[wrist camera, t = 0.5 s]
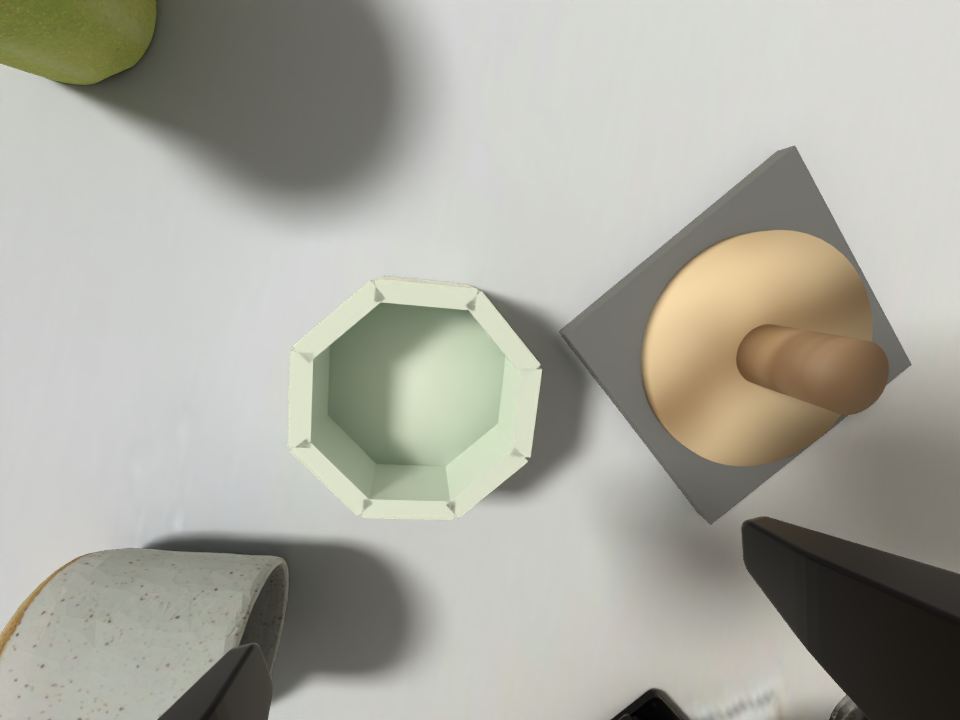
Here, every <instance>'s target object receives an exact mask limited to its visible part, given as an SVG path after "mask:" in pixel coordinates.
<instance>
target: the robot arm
mask: <svg viewBox="0 0 960 720" xmlns="http://www.w3.org/2000/svg"><path fill="white" fill-rule="evenodd" d="M741 530H742V547H743V560H744V563H745V566H746V568H747V570H748V572H749V573H750V575H751V576H752V577H753V579H754V580H755V581H756V583H757V584H758V585H759V587H760V588H761V589H762V591H763V592H764V593H765V595H766V596H767V597H768V599H769V600H770V601H771V603H772V604H773V605H774V607H775V608H776V609H777V611H778V612H779V613H780V615H781V616H782V617H783V619H784V620H785V621H786V623H787V624H788V625H789V627H790V628H791V629H792V631H793V632H794V633H795V635H796V636H797V637H798V639H799V640H800V641H801V642H802V644H803V645H804V646H805V647H806V649H807V650H808V651H809V652H810V653H811V655H812V656H813V657H814V658H815V659H816V660H817V662H818V663H819V664H820V665H821V666H822V667H823V668H824V670H825V671H826V672H827V673H828V674H829V675H830V676H831V677H832V679H833V680H834V681H835V682H836V683H837V684H838V685H839V686H840V688H841V689H842V690H843V691H844V692H845V693H846V694H847V695H848V697H849V698H850V699H851V700H852V701H853V702H854V703H855V704H856V706H857V707H858V708H859V709H860V710H861V711H862V712H863V713H864V715H865V716H866V717H867V718H868V719H869V720H960V574H958V573H955V572H951V571H948V570H944V569H941V568H938V567H934V566H931V565H928V564H924V563H921V562H917V561H914V560H911V559H907V558H904V557H901V556H897V555H894V554H890V553H887V552H884V551H880V550H877V549H874V548H870V547H867V546H863V545H860V544H857V543H853V542H850V541H847V540H843V539H840V538H836V537H833V536H830V535H826V534H823V533H820V532H816V531H813V530H810V529H806V528H803V527H799V526H796V525H793V524H789V523H786V522H783V521H779V520H776V519H772V518H769V517H758V518H754V519H750V520H746V521H745V522H743V524H742V529H741ZM271 699H272V680H271V677H270V674H269V671H268V668H267V665H266V662H265V659H264V656H263V653H262V650H261V648H260V646H259V645H258V644H256V643H250V644H246V645H242V646H238V647H234V648H232V649H230V650H229V651H228V652H227V653H226V654H225V655H224V656H223V657H222V658H221V659H220V660H219V661H217V662H216V663H215V664H214V665H213V666H212V667H211V668H210V669H209V670H208V671H207V672H206V673H205V674H204V675H203V676H202V677H201V678H200V679H199V680H198V681H197V682H196V683H195V684H194V685H192V686H191V687H190V688H189V689H188V690H187V691H186V692H185V693H184V694H183V695H182V696H181V697H180V698H179V699H178V700H177V701H176V702H175V703H174V704H173V705H172V706H171V707H170V708H169V709H168V710H166V711H165V712H164V713H163V714H162V715H161V716H160V717H159V718H158V719H157V720H268V716H269V710H270V705H271ZM613 720H683V719H682V718H681V717H680V716H679V715H678V714H677V713H676V712H675V711H674V710H673V709H672V707H671V706H670V705H669V704H668V703H667V702H666V701H665V700H664V699H663V698H662V697H661V696H660V695H659V694H658V693H657V692H656V691H649V692H647V693H646V694H645V695H643V696H642V697H641V698H639V699H638V700H637V701H636V702H634V703H633V704H632V705H631V706H629V707H628V708H627V709H626V710H624V711H623V712H622V713H620V714H619V715H618V716H617V717H615V718H614V719H613Z"/></svg>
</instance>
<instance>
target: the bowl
mask: <svg viewBox="0 0 960 720" xmlns="http://www.w3.org/2000/svg"><path fill="white" fill-rule="evenodd" d="M292 347H293V348H294V349H292V350H291V351H290V362H289V410H288V447H293V448H292V449H291V451H290V453H291V454H292V455H294V456H295V457H296V458H297V459H298V460H299V461H300V462H301V463H302V464H303V465H304V466H305V467H306V468H307V469H308V470H309V471H310V472H311V473H312V474H313V475H315V476H316V477H317V478H318V479H319V480H320V481H321V482H322V483H323V484H324V485H325V486H326V487H327V488H328V489H329V490H330V491H331V492H332V493H333V494H334V495H336V496H337V497H338V498H339V499H340V500H341V501H342V502H343V503H344V504H345V505H346V506H347V507H348V508H349V509H350V510H351V511H352V512H353V513H354V514H355V515H357V516H358V515H359V514H361V513H362V518H382V519H430V520H454V516H455V515H456V516H457V517H458V518H460V517H461V516H462V515H464V514H465V513H466V512H467V511H468V510H470V509H471V508H472V507H473V506H475V505H476V504H477V503H478V502H479V501H481V500H482V499H483V498H484V497H486V496H487V495H488V494H489V493H490V492H492V491H493V490H494V489H495V488H497V487H498V486H499V485H500V484H501V483H503V482H504V481H505V480H506V479H508V478H509V477H510V476H511V475H513V474H514V473H515V472H516V471H517V470H519V469H520V468H521V467H522V466H524V465H525V464H526V463H527V462H528V461H527V459H526V457H529V458H531V450H532V443H533V435H534V428H535V420H536V413H537V405H538V398H539V390H540V383H541V375H542V369H541V368H540V367H539V366H540V365H541V364H540V363H539V362H538V361H537V359H536V358H535V357H534V356H533V354H532V353H531V352H530V351H529V349H528V348H527V347H526V346H525V344H524V343H523V342H522V341H521V339H520V338H519V337H518V336H517V334H516V333H515V332H514V331H513V329H512V328H511V327H510V326H509V324H508V323H507V322H506V321H505V319H504V318H503V317H502V316H501V314H500V313H499V312H498V311H497V309H496V308H495V307H494V306H493V304H492V303H491V302H490V301H489V299H488V298H487V297H486V296H485V294H484V293H483V292H482V291H480V290H478V289H477V288H474V287H472V286H470V285H467V284H461V283H451V282H441V281H431V280H421V279H411V278H401V277H391V276H382V277H379V278H376V279H373V280H370V281H369V282H368V283H366V284H365V285H364V286H363V287H362V288H361V289H359V290H358V291H357V292H356V293H355V294H353V295H352V296H351V297H350V298H349V299H348V300H346V301H345V302H344V303H343V304H342V305H340V306H339V307H338V308H337V309H336V310H334V311H333V312H332V313H331V314H330V315H329V316H327V317H326V318H325V319H324V320H323V321H321V322H320V323H319V324H318V325H317V326H316V327H314V328H313V329H312V330H311V331H310V332H308V333H307V334H306V335H305V336H304V337H303V338H301V339H300V340H299V341H298V342H297V343H295V344H294V345H293V346H292Z"/></svg>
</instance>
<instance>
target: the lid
mask: <svg viewBox="0 0 960 720" xmlns="http://www.w3.org/2000/svg"><path fill="white" fill-rule="evenodd" d="M872 334H873V332H872V314H871V307H870V302H869V299H868V295H867V292H866V289H865V287H864V284H863V282H862V280H861V278H860V276H859V274H858V273H857V271H856V270H855V268H854V267H853V265H852V264H851V263H850V262H849V261H848V259H847V258H846V257H845V256H844V255H843V254H842V253H841V252H839V251H838V250H837V249H836V248H835V247H833V246H832V245H830V244H829V243H827V242H825V241H823V240H822V239H820V238H817V237H814V236H812V235H809V234H806V233H802V232H797V231H790V230H771V231H760V232H750V233H744V234H740V235H736V236H732V237H729V238H727V239H724V240H721V241H719V242H717V243H715V244H713V245H711V246H709V247H708V248H706V249H704V250H703V251H701V252H700V253H698V254H697V255H696V256H694V257H693V258H691V259H690V260H689V261H688V262H687V263H686V264H685V265H684V266H683V267H682V268H681V269H679V270H678V272H677V273H676V274H675V275H674V276H673V277H672V279H671V280H670V281H669V282H668V284H667V285H666V287H665V288H664V290H663V291H662V293H661V294H660V296H659V297H658V299H657V301H656V303H655V305H654V307H653V309H652V311H651V314H650V316H649V319H648V322H647V325H646V328H645V332H644V336H643V340H642V348H641V377H642V384H643V388H644V392H645V395H646V399H647V401H648V404H649V406H650V408H651V410H652V412H653V414H654V416H655V417H656V419H657V420H658V422H659V423H660V425H661V426H662V427H663V428H664V429H665V430H666V431H667V433H668V434H670V435H671V436H672V437H673V438H674V439H675V440H677V441H678V442H679V443H681V444H682V445H684V446H685V447H686V448H688V449H689V450H691V451H693V452H694V453H696V454H698V455H699V456H701V457H703V458H705V459H708V460H710V461H713V462H716V463H720V464H724V465H730V466H757V465H763V464H768V463H772V462H775V461H779V460H782V459H784V458H786V457H789V456H791V455H793V454H795V453H797V452H799V451H801V450H802V449H804V448H806V447H807V446H809V445H810V444H812V443H813V442H814V441H816V440H817V439H818V438H820V437H821V436H822V435H823V434H824V433H825V432H826V431H827V430H829V429H830V428H831V426H832V425H833V424H834V423H835V422H836V421H837V420H838V419H839V418H840V416H841V415H851V414H856V413H859V412H861V411H863V410H865V409H867V408H868V407H870V406H871V405H872V404H873V403H874V402H875V401H876V400H877V399H878V398H879V396H880V395H881V394H882V392H883V390H884V388H885V386H886V383H887V380H888V376H889V363H888V359H887V356H886V354H885V352H884V351H883V349H882V348H881V347H880V346H879V345H877V344H876V343H874V342H872Z"/></svg>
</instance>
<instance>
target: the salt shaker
mask: <svg viewBox="0 0 960 720" xmlns="http://www.w3.org/2000/svg"><path fill="white" fill-rule="evenodd" d="M830 720H869V719H868V718H867V717H866V716H865V715H864V713H863V712H862V711H861V710H860V709H859V708H858V707H857V706H856V704H855V703H854V702H853V701H852V700H851V699H850V698H849V697H848V695H846V696H845V697H844V698H843V699H842V700H841V701H840V702H839V703H838V705H837V706H836V708H835V709H834V710H833V712H832V715H831V717H830Z"/></svg>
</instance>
